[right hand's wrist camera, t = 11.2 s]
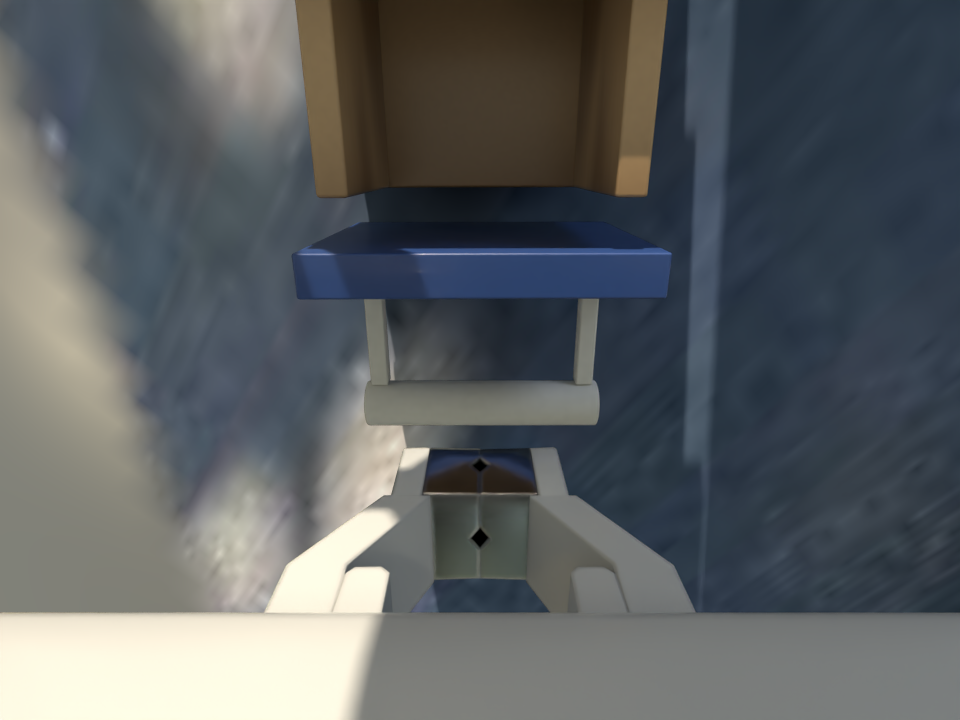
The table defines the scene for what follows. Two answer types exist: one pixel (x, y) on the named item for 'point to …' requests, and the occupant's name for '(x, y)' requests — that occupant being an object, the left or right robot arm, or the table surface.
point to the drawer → (481, 173)
